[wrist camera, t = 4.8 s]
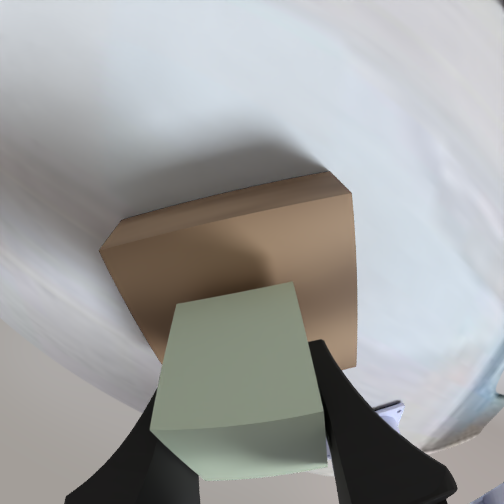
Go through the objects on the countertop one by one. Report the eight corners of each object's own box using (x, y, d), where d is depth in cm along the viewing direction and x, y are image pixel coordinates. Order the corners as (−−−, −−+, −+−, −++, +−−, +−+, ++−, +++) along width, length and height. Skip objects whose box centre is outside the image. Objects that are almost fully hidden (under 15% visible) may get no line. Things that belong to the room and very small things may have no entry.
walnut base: (343, 330, 18) (356, 366, 16) (188, 358, 19) (183, 395, 16) (329, 171, 13) (351, 193, 11) (121, 220, 14) (98, 250, 11)
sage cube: (306, 358, 13) (327, 466, 9) (211, 374, 14) (205, 480, 9) (292, 281, 11) (323, 411, 6) (176, 304, 12) (149, 430, 7)
